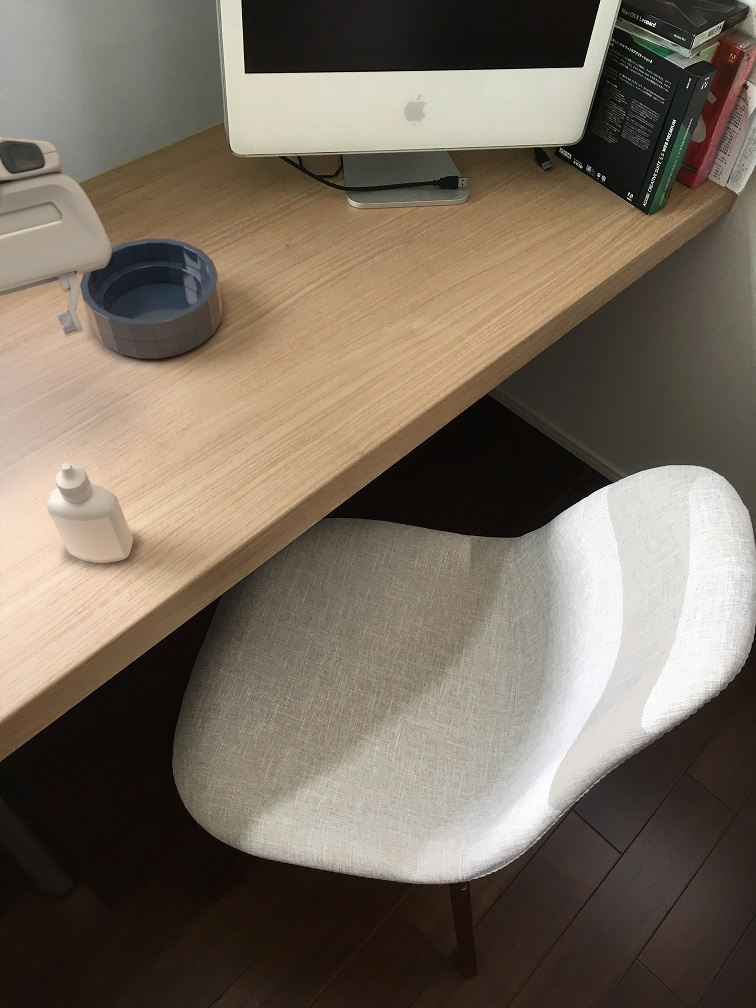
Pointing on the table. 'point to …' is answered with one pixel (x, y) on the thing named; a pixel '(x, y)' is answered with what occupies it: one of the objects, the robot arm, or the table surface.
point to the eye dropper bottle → (88, 518)
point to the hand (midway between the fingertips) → (17, 351)
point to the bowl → (153, 298)
